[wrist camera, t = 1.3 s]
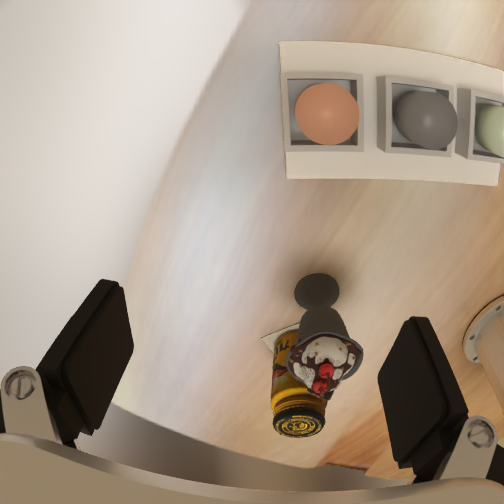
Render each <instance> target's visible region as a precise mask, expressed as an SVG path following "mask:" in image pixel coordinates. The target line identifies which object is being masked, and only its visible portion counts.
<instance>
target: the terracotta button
mask: <svg viewBox="0 0 504 504" xmlns="http://www.w3.org/2000/svg"><path fill="white" fill-rule="evenodd" d="M294 114H295V119H296V121H297V123H298V125H299V127H300V129H301V131H302V132H303V133H304V134H305V135H306V136H307V137H308V138H309V139H311V140H312V141H314V142H316V143H319V144H323V145H335V144H339V143H342V142H344V141H345V140H347V139H348V138H349V137H351V136H352V134H353V133H354V132H355V130H356V128H357V126H358V123H359V108H358V105H357V102H356V100H355V99H354V97H353V96H352V95H351V93H350V92H348V91H347V90H346V89H344V88H343V87H341V86H339V85H336V84H332V83H321V84H315V85H312V86H309V87H307V88H306V89H304V90H303V91H302V92H301V93H300V94H299V96H298V97H297V99H296V102H295V106H294Z"/></svg>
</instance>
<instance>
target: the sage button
mask: <svg viewBox="0 0 504 504" xmlns="http://www.w3.org/2000/svg"><path fill="white" fill-rule="evenodd" d="M474 132H475V136H476V139H477V141H478V143H479V144H480V145H481V146H482V147H483V148H484V149H485V150H488V151H490V152H492V153H494V154H496V155H499V156H501V157H503V158H504V107H502V106H497V105H492V104H488V105H484V106H483V107H481V108H480V109H479V111H478V112H477V114H476V117H475V127H474Z"/></svg>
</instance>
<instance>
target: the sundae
mask: <svg viewBox="0 0 504 504" xmlns="http://www.w3.org/2000/svg"><path fill="white" fill-rule="evenodd" d="M294 294H295V299H296V301H297V303H298V304H299V305H300V306H301V307H303V308H305V309H307V310H308V311H307V312H305V314H304V315H303V316H302V318H301V321H300V325H299V329H298V336H297V342H296V345H293V346H291V348H290V352H289V353H288V355H287V357H286V361H285V362H286V366H287V369H288V371H289V372H290V374H291V375H292V376H293V377H294V378H295V379H296V380H298V381H300V382H302V383H305V384H306V385H307V392H308V393H310V394H312V395H315V396H317V397H320V398H323V399H325V400H330V399H331V397H332V394H333V392H334V390H335V389H336V388H337V387H338V386H339V385H340V383H341V381H342V380H345V379H347V378H349V377H350V376H352V375H353V374H354V373H355V372H356V371H357V370H358V368H359V367H360V365H361V363H362V360H363V349H362V347H361V346H360V345H359V344H358V343H357V342H356V341H354V340H353V339H351V338H350V337H349V335H348V332H347V330H346V327H345V325H344V322H343V320H342V318H341V317H340V315H339V313H338V312H337V311H336V310H335V309H333V308H331V307H330V306H332V305H333V304H334V303H335V302H336V301H337V299H338V296H339V286H338V284H337V282H336V281H335V280H334V279H333V278H332V277H330V276H328V275H324V274H313V275H309V276H307V277H305V278H303V279H302V280H301V281H300V282H299V283H298V284H297V286H296V288H295V292H294Z"/></svg>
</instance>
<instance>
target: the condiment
mask: <svg viewBox="0 0 504 504" xmlns="http://www.w3.org/2000/svg"><path fill="white" fill-rule="evenodd" d="M299 325H300V323H298V324H296V325H293V326H290V327H287V328H285V329H283V330H280V331H278V332H275V333H272V334H270V335H267V336H265V337H263V338H261V340H262V341H263V342H264V343H265V344H266V345H267V347H268V348H269V349H270V350H271V351H272V352H273V354H274V359H273V375H272V391H271V407H272V409H273V415H274V418H273V426H274V429H275V430H276V431H277V432H278V433H279V434H280V435H284V436H287V437H294V438H301V437H302V438H303V437H309V436H312V435H315V434H317V433H318V432H320V431H321V430H322V428H323V427H324V425H325V418H324V416H325V408H326V406H327V400H325V399H323V398H320V397H317V396H315V395H312V394H310V393H308V392H307V385H306V384H305V383H302V382H300V381H298V380H296V379H295V378H294V377H293V376H292V375H291V374H290V372H289V371H288V369H287V366H286V362H285V361H286V357H287V355H288V353H289V352H290V348H291V346H293V345H296V342H297V336H298V329H299Z"/></svg>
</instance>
